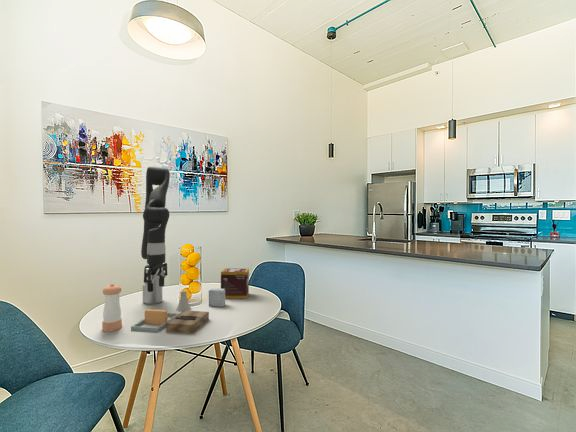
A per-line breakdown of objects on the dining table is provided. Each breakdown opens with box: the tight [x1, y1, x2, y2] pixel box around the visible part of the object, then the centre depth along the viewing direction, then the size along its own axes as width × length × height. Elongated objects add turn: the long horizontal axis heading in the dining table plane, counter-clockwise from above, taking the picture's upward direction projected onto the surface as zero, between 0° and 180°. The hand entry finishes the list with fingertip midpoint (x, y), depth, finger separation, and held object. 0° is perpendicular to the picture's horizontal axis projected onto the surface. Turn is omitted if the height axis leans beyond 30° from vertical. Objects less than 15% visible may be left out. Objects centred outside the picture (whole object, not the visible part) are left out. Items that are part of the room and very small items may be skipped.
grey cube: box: [208, 287, 226, 307], centre depth 162 cm, size 8×4×9 cm, turn 84°
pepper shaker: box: [101, 283, 123, 332], centre depth 130 cm, size 7×7×19 cm
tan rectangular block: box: [143, 308, 168, 325], centre depth 133 cm, size 6×2×10 cm
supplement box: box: [220, 268, 250, 299], centre depth 180 cm, size 10×15×16 cm
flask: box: [176, 290, 192, 313], centre depth 152 cm, size 7×7×10 cm
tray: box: [130, 312, 180, 333], centre depth 133 cm, size 12×18×2 cm, turn 172°
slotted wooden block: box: [165, 310, 210, 334], centre depth 131 cm, size 12×16×5 cm
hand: (156, 288), depth 133 cm, fingers open, 8 cm apart
